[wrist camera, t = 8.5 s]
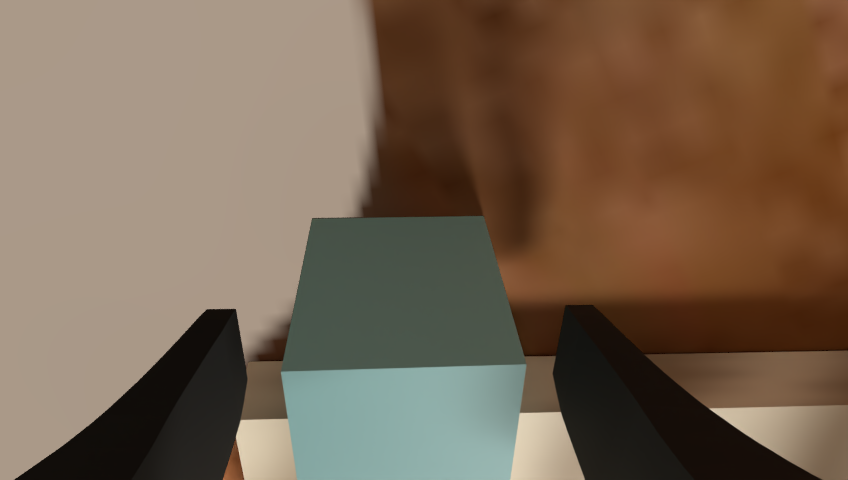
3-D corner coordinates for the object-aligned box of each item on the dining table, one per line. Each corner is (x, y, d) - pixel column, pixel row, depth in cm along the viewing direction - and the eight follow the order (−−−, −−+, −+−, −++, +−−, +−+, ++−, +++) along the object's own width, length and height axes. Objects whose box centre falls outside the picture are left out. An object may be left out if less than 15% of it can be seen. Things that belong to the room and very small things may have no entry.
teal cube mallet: (483, 215, 14) (526, 364, 10) (462, 485, 19) (484, 657, 15) (312, 218, 14) (281, 371, 10) (338, 490, 19) (325, 667, 15)
